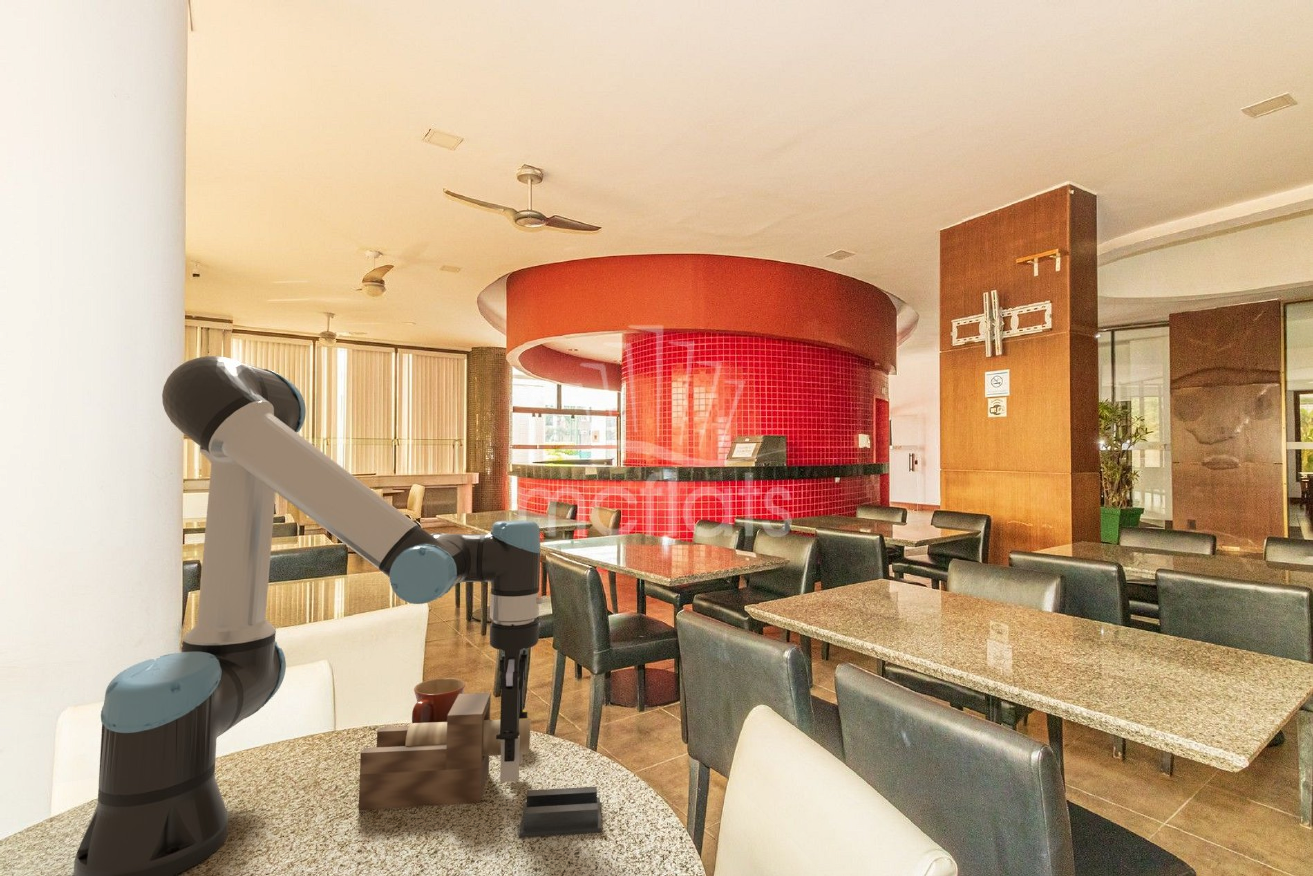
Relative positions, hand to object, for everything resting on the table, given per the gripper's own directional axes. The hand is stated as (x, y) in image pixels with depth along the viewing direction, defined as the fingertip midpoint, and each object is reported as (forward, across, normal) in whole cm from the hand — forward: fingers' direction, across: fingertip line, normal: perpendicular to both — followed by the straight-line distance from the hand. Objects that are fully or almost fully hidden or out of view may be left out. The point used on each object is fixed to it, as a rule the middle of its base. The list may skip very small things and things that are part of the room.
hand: (511, 771), depth 95 cm
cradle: (+2, -10, -8) cm, 13 cm away
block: (+2, 0, +12) cm, 13 cm away
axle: (-3, 0, +6) cm, 7 cm away
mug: (+2, +15, +15) cm, 21 cm away
